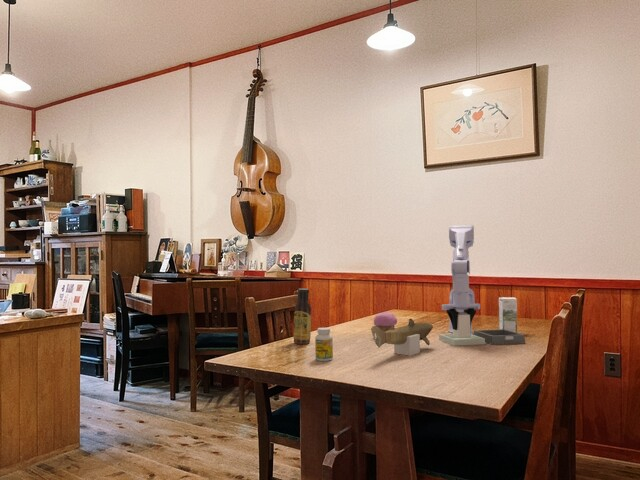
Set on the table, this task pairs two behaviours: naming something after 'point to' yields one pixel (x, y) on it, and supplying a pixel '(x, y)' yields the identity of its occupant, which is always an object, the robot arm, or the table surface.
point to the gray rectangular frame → (500, 336)
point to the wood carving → (403, 337)
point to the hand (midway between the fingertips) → (461, 329)
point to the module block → (462, 325)
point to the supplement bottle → (324, 345)
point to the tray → (461, 339)
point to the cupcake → (385, 321)
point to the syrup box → (508, 313)
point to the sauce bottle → (302, 318)
